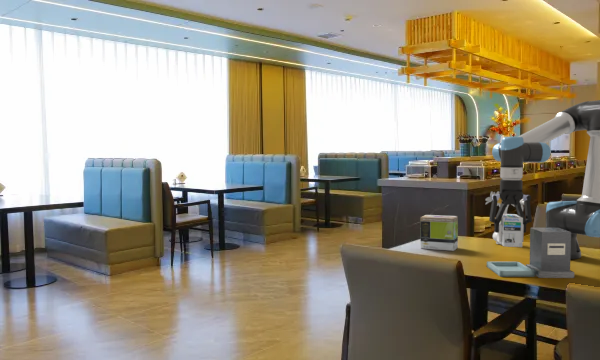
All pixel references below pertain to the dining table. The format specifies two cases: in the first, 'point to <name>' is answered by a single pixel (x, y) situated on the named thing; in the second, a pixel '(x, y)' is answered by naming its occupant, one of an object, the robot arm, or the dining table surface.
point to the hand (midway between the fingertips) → (509, 241)
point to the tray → (510, 269)
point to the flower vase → (504, 211)
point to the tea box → (439, 232)
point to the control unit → (550, 253)
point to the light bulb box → (511, 230)
